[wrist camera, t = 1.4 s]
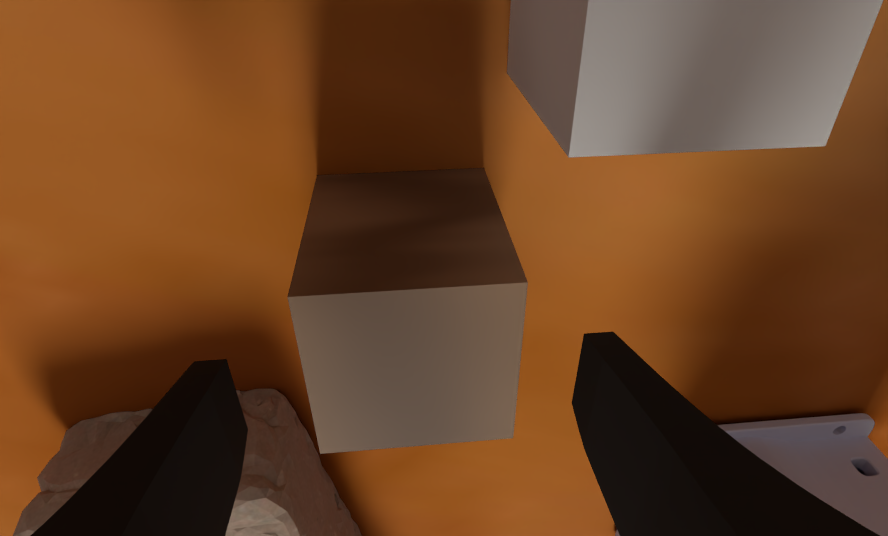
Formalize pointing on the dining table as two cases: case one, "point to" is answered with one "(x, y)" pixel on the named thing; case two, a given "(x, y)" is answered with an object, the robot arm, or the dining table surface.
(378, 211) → the walnut block
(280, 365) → the dining table surface
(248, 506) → the brick
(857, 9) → the grey block
